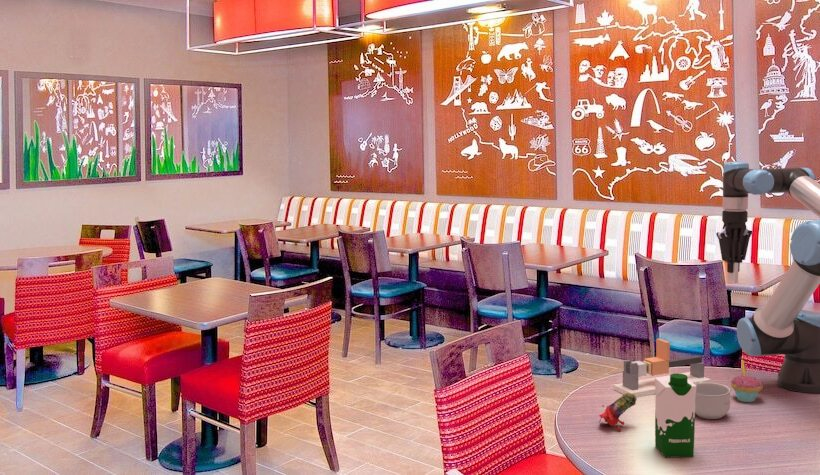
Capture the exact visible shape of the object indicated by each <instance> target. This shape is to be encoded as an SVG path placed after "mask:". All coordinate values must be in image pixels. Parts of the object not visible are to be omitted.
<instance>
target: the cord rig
mask: <svg viewBox="0 0 820 475" xmlns="http://www.w3.org/2000/svg"><path fill="white" fill-rule="evenodd" d="M687 365H689V366H690V367H689V369H690V370H689V371H687V372H681V373H680V372H679V374H684V375H687V377H688V379H689V380H690V381H691V382H692V383H693V384H696V383H697V382H698V381H703V382H704V383H705V382H706V383H712V379H711V378H708V377H705V363H704V362H703V357H702V356H700V355H692V356H686V357H681V358H680V357H679V358H674V359H673V358H672V359H670V360H669V369H670V368H675V367H680V366H681V367H682V366H687ZM647 374H649V375H650V374H651V363H649V362H646V361H644V360H642V361H641V360H636V361H632V360H631V359H627V360H626V359H625V360H623V371H622V382H621V383H616V384H613V385H612V389H613V390H614V391H616V392H618V393H620V394H622V395H624V394H627V393H633V394H635V395H636V398H639V397H640V398H641V397H646V396H651V395H656V392H655V378H658V377H659V376H657V377H652V378H651V377H650V378H644V379H639V377H645V376H647ZM670 375H671V374H669V375H662V376H661V377H670Z"/></svg>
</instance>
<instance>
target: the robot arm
mask: <svg viewBox="0 0 820 475" xmlns="http://www.w3.org/2000/svg"><path fill="white" fill-rule="evenodd" d="M722 177H723V178H722V209H723V210H722V214H721V218H722V219H721V220H722V222H723V226H722V230H721V231H719V232H716V238H717V239H718V243H719V248H720V254H721V260H722V261H724V262H726V264H727V265H726V269H727V270H726V271H727V273H728V274H727V276H728V277H727V281H728V283H732V284H738V283H739V272H740V268H741V267H740V264H742V263H743V261H745V260H746V257H747V252H748V247H749V243H750V239H751V236H752V234H753V231H752V230H749V229H748V228H747V225H746V223H747V222H748V216H749V215H748V214H749V213H748V209H749V194H752V195H754V196H755V195H756V196H757V195H758V196H759V195H766V194H780V193H782V194H783V193H784V194H788V195H790V196H791V197H792V198H793V199H795V200H796V201H797V202H799V203H800V204H802V206H804V207H805V208H807V209H808V210H809V211H811V212H812V213H813V214H814V215H816V216H817V217H819V218H817V219H813V220H806V221H804V222H802V223H800V224H798V226H796V227H795V229H794V230H793V232H792V234H791V237H790V242H791V243H790V244H789V249H790V254H791V257H792V259H793V261H792V263H791V264H790V267H789V268H788V269H787V270H786V272H785V274H784V275H783V277H782V278H781V280H780V282H779V283H778V285H777V286H776V288H775V289H774V291H773V293H772V294H771V295H770V297H769V299H768V300H767V302H766V304H765V305H761V306H759V307H757V308H756V309H755V311H754V312H753V313H752V316H750V317H747V316H744V317H742V318H740V319H739V320H738V322H737V325H736V336H737V340H738V343H739V347H740V348H741V350H742V351H743V353H744V354H745V355H746V356H747V355H748V356H750V357H764V356H765V357H766V356H767V357H768V356H779V355H784V357H783V358H784V359H783V362H782V364H781V367H780V369H779V372H778V374H777V379H776V380H777V384H778V386H780V387H781V388H783V389H786V390H790V391H794V392H799V393H804V394H805V393H806V394H809V393H810V394H820V313H819V312H816V311H810V310H805V309H803V308H804V307H805V305H806V304H807V303H808V301H809V300H810V298H811V297H812V295H813V294H814V293H815V291H816V289H817V288H818V287H819V285H820V183H819V182H818V181H816V176H815V174H814V171H813V170H812V169H811V168H809V167H800V166H799V167H796V166H795V167H783V168H781V167H780V168H750V163H748V162H747V161H727V162H725V163H724V165H723V173H722Z"/></svg>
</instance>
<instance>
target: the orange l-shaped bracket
mask: <svg viewBox="0 0 820 475" xmlns="http://www.w3.org/2000/svg"><path fill="white" fill-rule="evenodd" d="M655 340H656V341H655V343H656V344H655V345H656V346H655V351H656V352H655V356H653V357H647V358H643V361H646V362H649V363H651V374H649V376H657V375H664V374H669V372H670V368H669V360H671V359H670V358H671V357H670V353H671V342H670V341H668V340H665V339H662V338H656V339H655Z"/></svg>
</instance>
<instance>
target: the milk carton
mask: <svg viewBox="0 0 820 475" xmlns="http://www.w3.org/2000/svg"><path fill="white" fill-rule="evenodd" d="M669 375H670V377H662V376H657V377H658V378H656V377H654V378H655V392H656V394H655V404H654V405H655V406H654V407H655V408H654V409H655V410H654V412H655V413H654V414H655V416H654V422H655V423H654V432H655V433H654V437H655V439H654V443H655V444H654V446H655V448H656V449H657V450H658V451H659V452H660V453H661V455H662V456H664V458H665V459H666V458H684V457H685V458H686V457H694V454H695V452H694V451H695V425H696V424H695V422H696V419H695V418H696V417H695V416H696V413H695V396H696V385H695V384H693V383H692V382H691V381H690V380H689V379H688V377H687V375H684V374H680V373H671V374H669Z"/></svg>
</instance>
